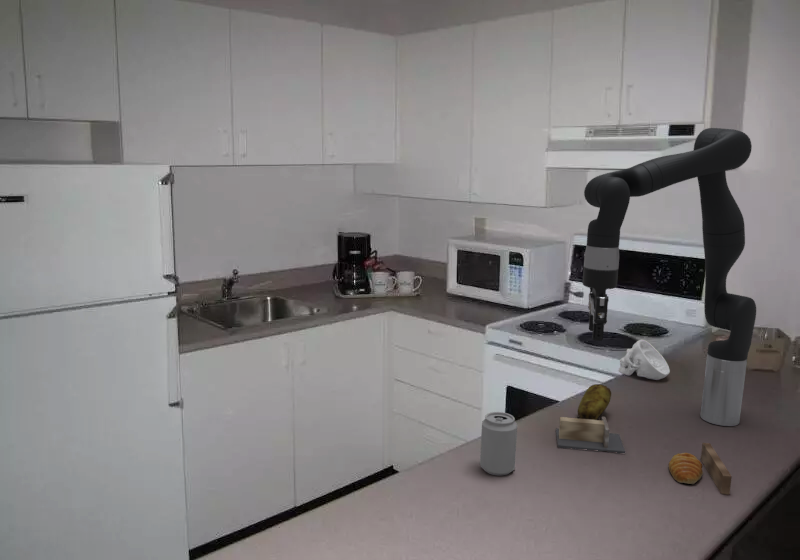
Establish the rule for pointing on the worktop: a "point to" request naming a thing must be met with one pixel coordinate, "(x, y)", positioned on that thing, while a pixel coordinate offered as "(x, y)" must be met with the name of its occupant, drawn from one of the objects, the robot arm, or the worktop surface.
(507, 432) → the can
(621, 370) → the skull bowl
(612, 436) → the mat
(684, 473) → the pastry
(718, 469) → the rail
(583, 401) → the potato
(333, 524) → the worktop surface
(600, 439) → the scraper
